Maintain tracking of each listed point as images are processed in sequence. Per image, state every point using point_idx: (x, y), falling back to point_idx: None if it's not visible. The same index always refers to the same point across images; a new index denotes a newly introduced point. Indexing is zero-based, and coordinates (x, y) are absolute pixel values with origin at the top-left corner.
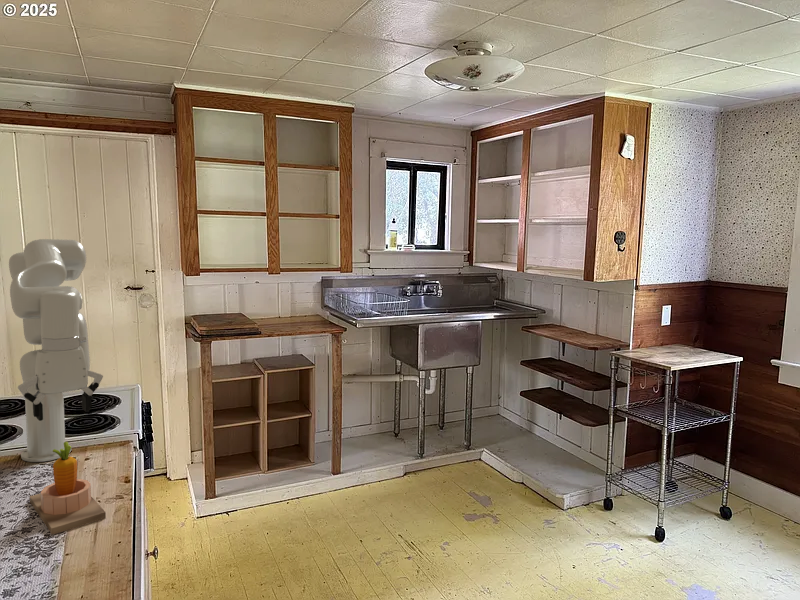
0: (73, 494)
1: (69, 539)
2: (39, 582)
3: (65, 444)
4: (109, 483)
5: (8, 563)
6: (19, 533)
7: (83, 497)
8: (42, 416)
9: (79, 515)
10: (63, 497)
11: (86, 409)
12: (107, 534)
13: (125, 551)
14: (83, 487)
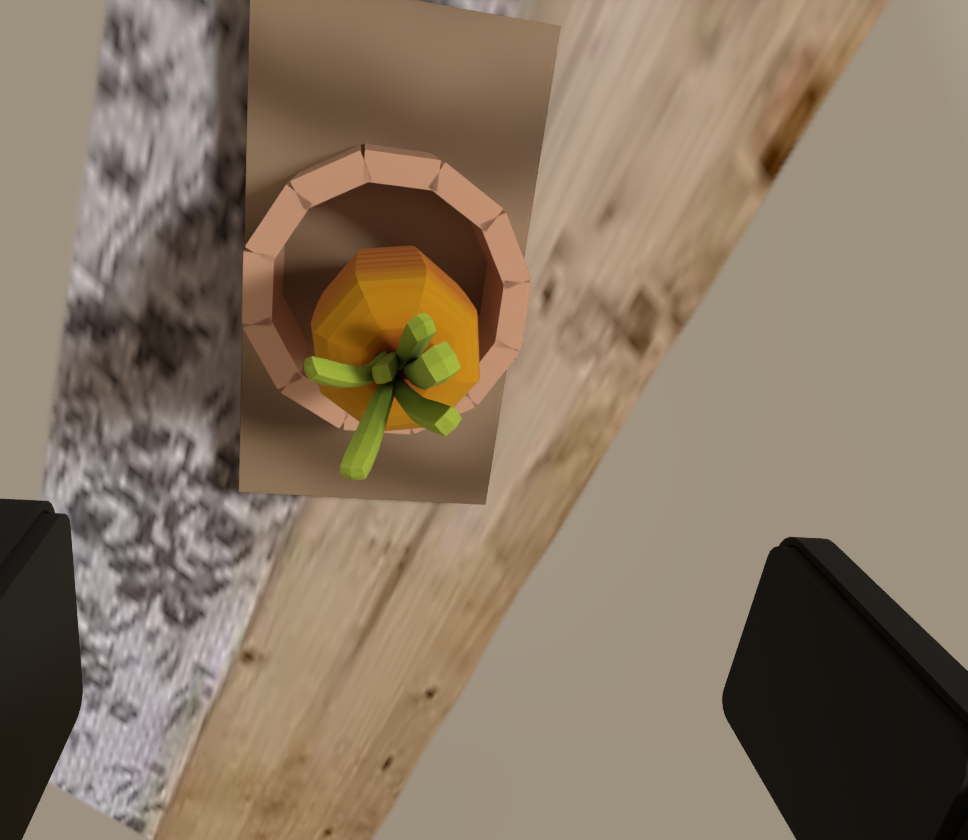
0: None
1: (291, 560)
2: (115, 760)
3: (427, 377)
4: (700, 103)
5: None
6: (122, 354)
7: None
8: (51, 752)
9: (384, 454)
10: (330, 421)
11: (742, 739)
12: (421, 618)
13: (413, 756)
14: (496, 278)
